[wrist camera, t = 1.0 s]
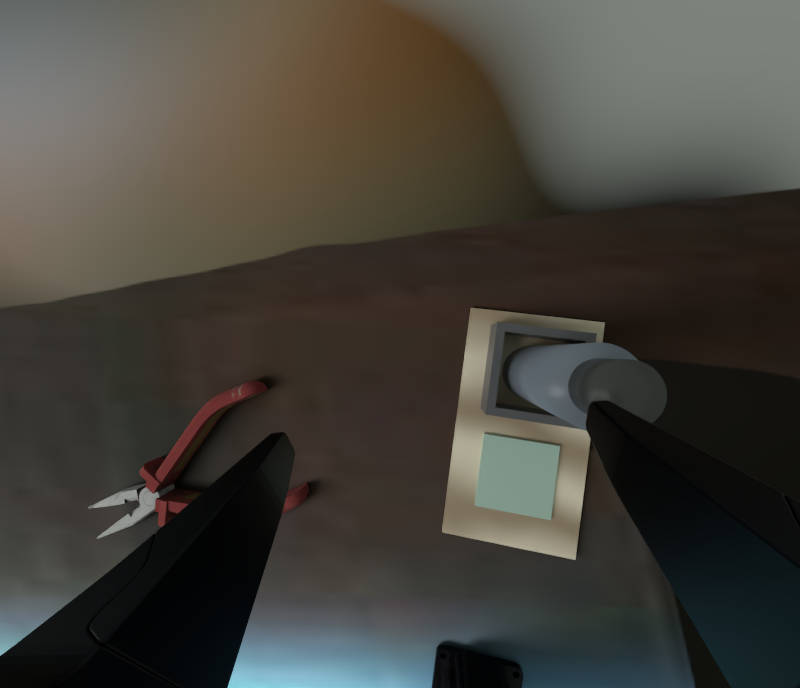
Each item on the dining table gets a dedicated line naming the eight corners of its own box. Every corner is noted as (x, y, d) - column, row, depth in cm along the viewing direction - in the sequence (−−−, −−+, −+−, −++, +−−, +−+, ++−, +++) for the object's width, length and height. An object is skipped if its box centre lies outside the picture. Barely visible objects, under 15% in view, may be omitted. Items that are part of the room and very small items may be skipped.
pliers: (88, 458, 29) (54, 469, 26) (267, 373, 27) (249, 376, 24) (129, 572, 28) (98, 595, 25) (317, 494, 26) (304, 509, 23)
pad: (549, 518, 22) (550, 520, 22) (474, 503, 23) (475, 505, 23) (558, 445, 23) (560, 446, 22) (483, 432, 23) (484, 433, 23)
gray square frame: (568, 421, 23) (584, 429, 20) (480, 407, 23) (485, 414, 21) (579, 335, 23) (596, 333, 20) (491, 325, 23) (497, 321, 21)
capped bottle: (552, 401, 23) (681, 456, 11) (499, 394, 23) (565, 438, 11) (559, 350, 23) (694, 348, 11) (505, 343, 23) (578, 334, 11)
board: (573, 556, 23) (575, 560, 22) (442, 529, 24) (442, 532, 23) (602, 323, 23) (604, 322, 22) (470, 308, 24) (471, 307, 24)
